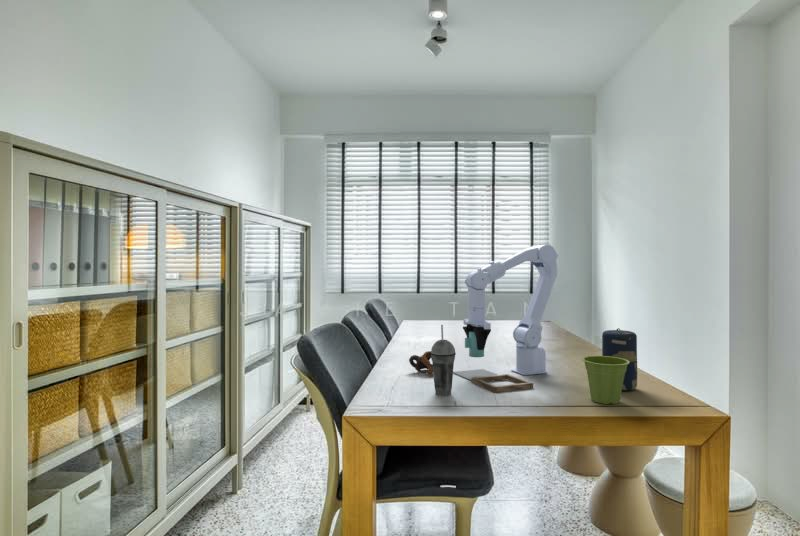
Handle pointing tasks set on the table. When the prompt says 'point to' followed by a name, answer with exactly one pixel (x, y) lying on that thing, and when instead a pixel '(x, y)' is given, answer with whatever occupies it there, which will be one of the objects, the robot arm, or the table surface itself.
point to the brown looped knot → (422, 362)
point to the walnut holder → (520, 385)
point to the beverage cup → (443, 365)
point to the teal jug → (473, 346)
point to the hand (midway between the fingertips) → (476, 348)
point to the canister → (622, 353)
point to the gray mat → (474, 373)
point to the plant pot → (605, 377)
